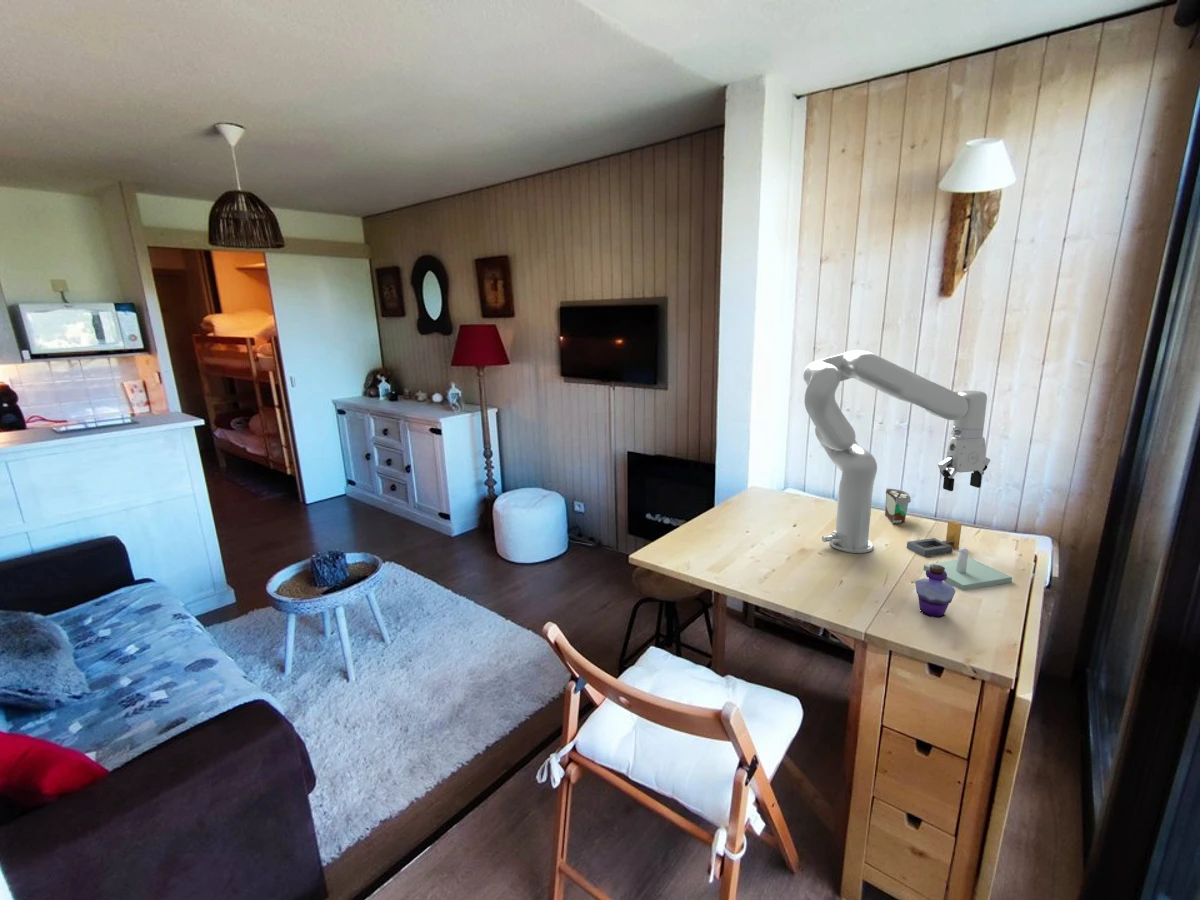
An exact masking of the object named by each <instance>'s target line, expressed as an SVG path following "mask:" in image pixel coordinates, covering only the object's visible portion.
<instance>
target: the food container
mask: <svg viewBox="0 0 1200 900" xmlns="http://www.w3.org/2000/svg"><path fill="white" fill-rule="evenodd" d="M911 502H912V500H911V495H910V494H909V493H908V492H907V491H905V490H904V491H903V490H901V489H897V488H896V489H895V488H886V490H885V505H884V506H885V509H884V516H885V517H886V519H887V520H888V521H889V522H890V524H892V525H894V526H898V525H900V526H901V525H903V524H904V523H905V522H906V518H907V511H908V506H909V504H910V503H911Z"/></svg>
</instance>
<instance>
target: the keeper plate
mask: <svg viewBox="0 0 1200 900" xmlns="http://www.w3.org/2000/svg"><path fill="white" fill-rule="evenodd" d="M933 564H935V565H940V566H943V567H944V568H945V570H944V571H945V572H946V573H947V579H946V580H943V582H945V583H948V584H950V585H952V586H953V587H955V588H958V589H959V590H961V591H967V590H969V591H970V590H974V589H980V588H985V587H991V586H997V585H1002V584H1009V583H1013V576H1011V575H1008V574H1007V573H1005V572H1004V571H1003V572H1002V571H1000V570H998V569H995V568H993V567H991V566H989V565H987V564H985V563H983V562H980V561H979V560H976V559H975V558H973V557H969V550H968V548H967V547H959V548H958V553H957V559H952V560H946V561H939V562H934V563H933V562H932V563H927V564H923V570H924V571H925V572H926V569H929V568H930V565H933Z"/></svg>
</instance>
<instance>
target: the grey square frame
mask: <svg viewBox="0 0 1200 900" xmlns="http://www.w3.org/2000/svg"><path fill="white" fill-rule="evenodd" d="M962 525H963V524H962V523H961V522H958V521H955V520H948V521H947V527H946V536H945V540H939V539H937V538H935V537H933V538H932V537H931V538H925V539H918V540H911V541H906V542H907V543H906V549H908V550H910V551H913V552H914V553H916V554H918V555H920V556H922V557H924V558H925V557H931V556H932V555H933V556H938V555H946V554H952V553H953V550H956V549H955V548H957V549H960V539H961V531H962ZM929 546H931V547H929ZM934 546H935V547H934ZM951 552H952V553H951ZM945 553H946V554H945ZM933 556H932V557H933Z"/></svg>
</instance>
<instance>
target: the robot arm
mask: <svg viewBox="0 0 1200 900" xmlns="http://www.w3.org/2000/svg"><path fill="white" fill-rule="evenodd" d="M802 378H803V381H804V383H805V385H807V387H806V389H805V392H804V393H805V394H804V406H805V410H806V412H807V414H808V416H809V418H810V419H811V421H812V423H813V425H814V426H815V429H814V433H815V436H816V438H817V440H818V442H819V443H820V445H821V447H822V448H823V449H824V451H825V453H826V454H827V456H828V457H829V459H830V460H831V462H832V463H833V465H834V466H835V467H836V468H837V469H839V471H841V477H840V481H839V486H838V492H837V495H838V496H837V507H836V509H837V510H836V520H835V521H836V522H835V523H836V524H835V530H833V531H832V533H831V534H830V535H822V536H821V541H822V543H827V542H828V543H829V544H830V546H831V547H833V549H836V550H839V551H842V552H845V553H850V554H864V553H869V552H871V551H873V549H874V543H873V542H872V541H870V540H869V537H870V526H871V525H870V524H871V516H872V515H871V514H872V513H871V512H872V499H873V489H874V484H875V479H876V477H877V472H878V463H877V460H876V458H875V457H874V455H873V454H872V453H871V452H870V451H868V450H866V449H865V448H863V447H862V446H860V444H859V443H858V442H857V439H856V431H855V429H854V428H853V426H852V424H851V423H850V422H849V421H848V419H847V418H846V416H845V415H844V413H843V412H842V410H841V409H840V407H839V404H838V403H837V401H836V391H837V389H838V387H839V385H840V382H844V381H846V380H850V379H854V380H856V381H860V382H861V383H863V384H865V385H868V386H869V387H872V388H874V389H876V390H878V391H880V392H882V393H884V394H886V395H888V396H890V397H893V398H895V399H898V400H900V401H903V402H906V403H909V404H913V405H914V406H915V405H916V406H918V407H920V408H922V409H924V410H925V411H926V412H927V413H928V414H930V415H932V416H936V417H938V418H942V419H944V420H947V421H953V425H952V431H951V432H950V434H951V437H950V440H949V441H948V442H949V443H948V446H947V451H946V457H945V459H944V460H942V461H941V462H939V463H938V464H937V466H938V468H939V473H940V474H941V476H942V477H943V482H942V483H943V484H942V489H943V490H946V491H948V492H953V491H954V487H955V478H954V476H955V475H956V474H957V473H961V474H962V473H970V472H971V473H970V481H969V486H971V487H974V488H978V489H980V488H981V486H982V479H983V475H985V471H986V470H987V469H988V466H989V463H990V462H991V459H990V458H988V457H987V455H986V453H987V452H986V451H987V448H986V447H987V446H986V440H985V439H986V438H985V437H984V431H985V430H984V429H985V427H984V426H985V418H986V411H987V410H986V409H987V404H988V403H987V402H988V396H987V393H985V392H984V391H981V390H962V391H953V390H951V389H950V388H947V387H945V386H942V385H941V384H938V383H935V382H934V381H932V380H929V379H927V378H925V377H923V376H921V375H920V374H917V373H915V372H912V371H910V370H909V369H906V368H904V367H902V366H899V365H897V364H895V363H893V361H890V360H887V359H885V358H883V357H881V356H879V355H877V354H875V353H872V352H870V351H866V350H860V349H856V350H853V349H852V350H850V351H845V352H844V353H843V352H842V353H839V354H836V355H833V356H829V357H825V358H821V359H818V360H815V361H813V362H810V363H809V364H808V365H807V366H806V367H805V368H804V370H803V373H802Z"/></svg>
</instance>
